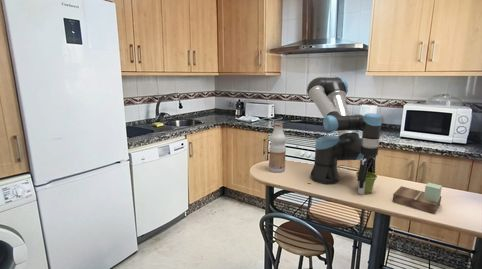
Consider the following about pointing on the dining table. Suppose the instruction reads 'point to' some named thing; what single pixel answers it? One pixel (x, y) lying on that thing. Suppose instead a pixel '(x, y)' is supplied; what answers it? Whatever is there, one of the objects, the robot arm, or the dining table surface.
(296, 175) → the dining table surface
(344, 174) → the dining table surface
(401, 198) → the walnut board
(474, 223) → the dining table surface
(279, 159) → the fruit juice
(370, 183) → the plant pot
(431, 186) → the sage block
